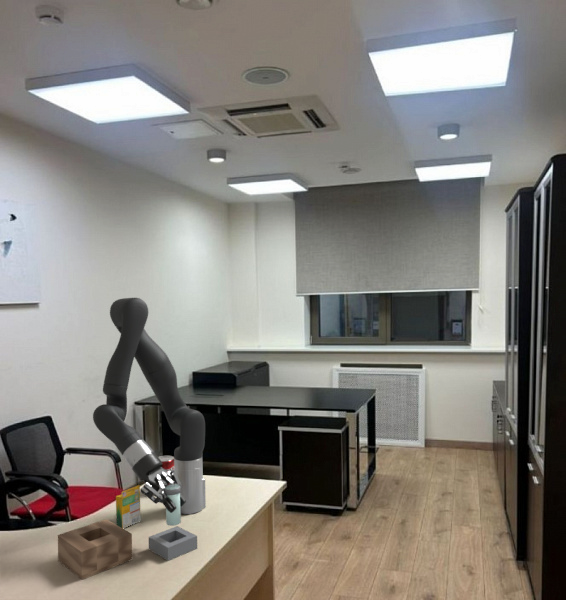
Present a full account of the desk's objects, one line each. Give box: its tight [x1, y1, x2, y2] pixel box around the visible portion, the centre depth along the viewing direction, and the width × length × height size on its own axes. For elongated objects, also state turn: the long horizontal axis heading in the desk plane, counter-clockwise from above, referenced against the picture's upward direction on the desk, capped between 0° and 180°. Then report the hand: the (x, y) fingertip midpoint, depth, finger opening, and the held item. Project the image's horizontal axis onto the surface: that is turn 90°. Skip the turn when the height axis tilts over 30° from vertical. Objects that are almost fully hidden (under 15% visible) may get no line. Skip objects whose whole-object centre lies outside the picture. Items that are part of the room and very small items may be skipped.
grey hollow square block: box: [148, 525, 198, 561], centre depth 151 cm, size 10×10×4 cm
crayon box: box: [115, 484, 141, 529], centre depth 168 cm, size 7×3×12 cm, turn 146°
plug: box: [165, 484, 182, 527], centre depth 151 cm, size 4×4×10 cm
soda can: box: [158, 455, 174, 485], centre depth 196 cm, size 7×7×12 cm
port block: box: [57, 519, 133, 580], centre depth 145 cm, size 14×14×7 cm
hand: (178, 507), depth 150 cm, fingers closed on plug, 4 cm apart
